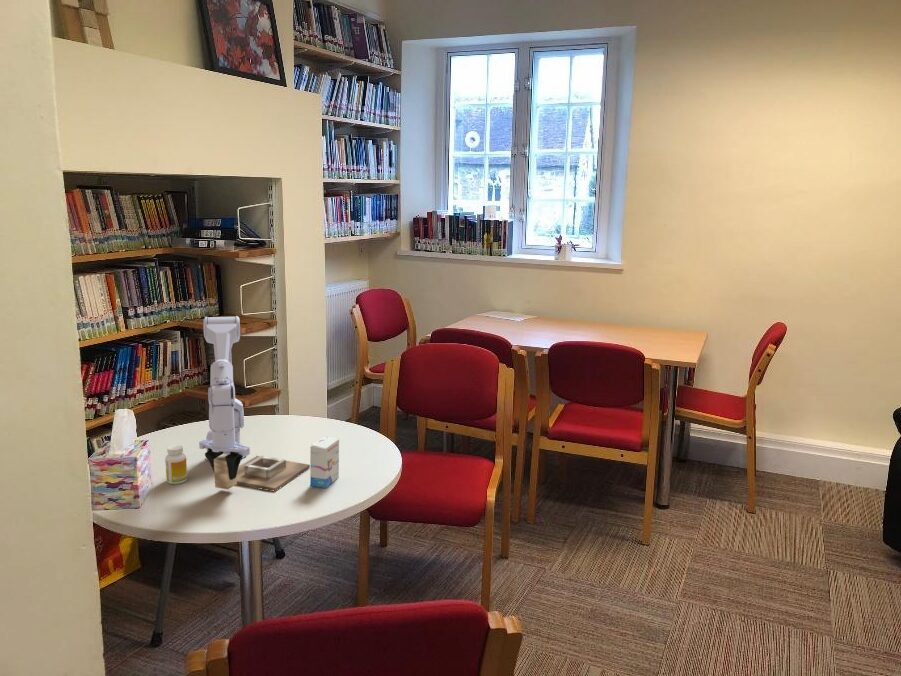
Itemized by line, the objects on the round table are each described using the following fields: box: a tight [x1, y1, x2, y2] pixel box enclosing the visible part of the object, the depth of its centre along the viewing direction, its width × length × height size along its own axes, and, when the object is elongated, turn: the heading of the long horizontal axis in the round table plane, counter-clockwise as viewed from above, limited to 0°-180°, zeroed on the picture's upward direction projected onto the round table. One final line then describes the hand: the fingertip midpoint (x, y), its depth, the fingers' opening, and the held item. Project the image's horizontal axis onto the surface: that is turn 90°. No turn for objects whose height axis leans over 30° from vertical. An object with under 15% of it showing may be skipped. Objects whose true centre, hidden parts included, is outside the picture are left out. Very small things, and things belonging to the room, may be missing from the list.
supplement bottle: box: [164, 444, 188, 485], centre depth 203 cm, size 5×5×10 cm
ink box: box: [309, 436, 340, 489], centre depth 204 cm, size 9×5×12 cm, turn 163°
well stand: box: [236, 455, 310, 492], centre depth 209 cm, size 18×18×4 cm
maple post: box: [213, 454, 237, 490], centre depth 196 cm, size 4×4×8 cm
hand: (225, 477), depth 197 cm, fingers closed on maple post, 4 cm apart
